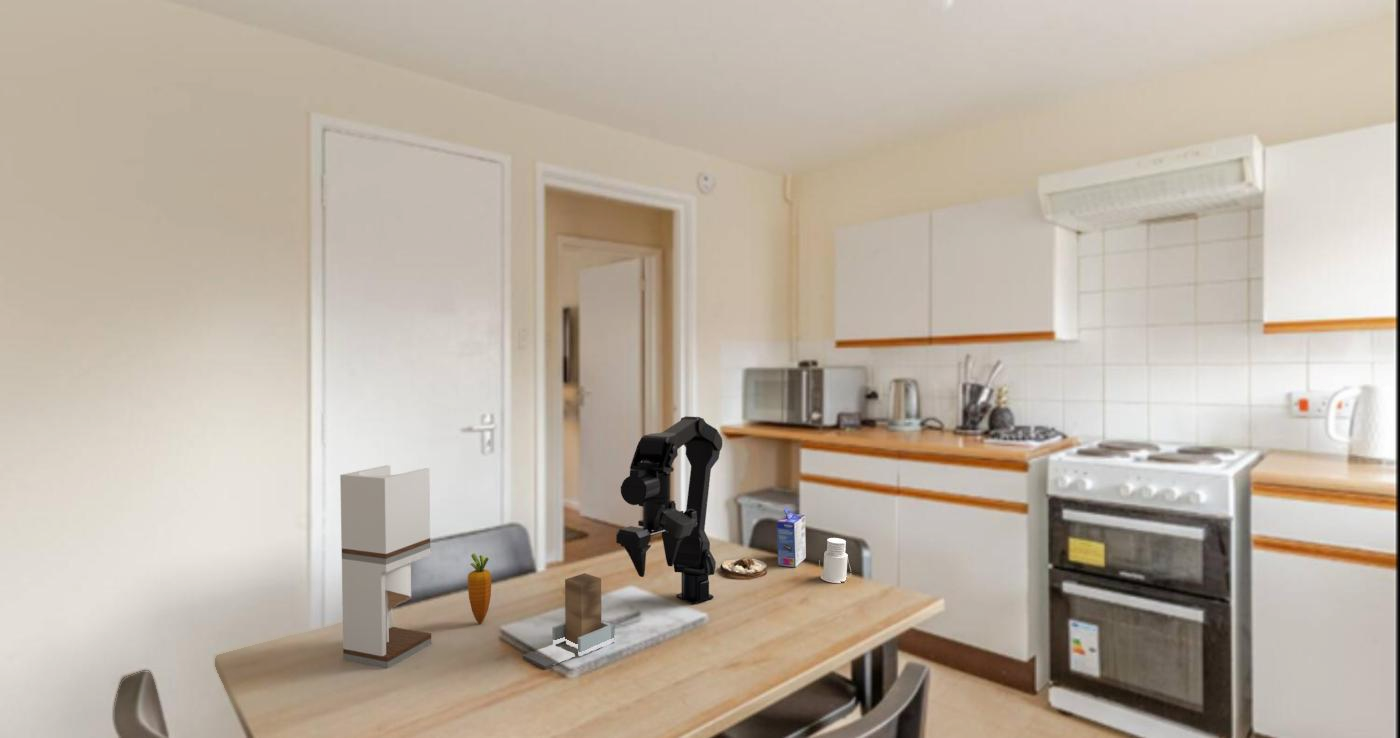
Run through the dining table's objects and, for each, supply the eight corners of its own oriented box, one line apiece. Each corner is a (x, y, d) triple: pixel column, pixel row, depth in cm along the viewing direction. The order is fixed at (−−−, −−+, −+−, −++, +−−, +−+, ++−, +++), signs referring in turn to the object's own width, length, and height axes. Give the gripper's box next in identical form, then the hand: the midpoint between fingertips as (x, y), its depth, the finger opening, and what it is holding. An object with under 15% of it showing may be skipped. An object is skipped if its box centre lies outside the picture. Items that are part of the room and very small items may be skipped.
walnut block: (585, 636, 143) (584, 573, 143) (601, 643, 140) (601, 578, 139) (565, 644, 139) (565, 579, 139) (581, 651, 136) (581, 584, 136)
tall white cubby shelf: (387, 668, 129) (384, 478, 128) (343, 659, 133) (340, 474, 131) (431, 643, 140) (429, 468, 138) (389, 636, 143) (386, 465, 142)
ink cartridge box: (787, 555, 198) (787, 504, 198) (806, 558, 196) (806, 506, 196) (776, 565, 189) (776, 512, 189) (795, 568, 187) (796, 514, 187)
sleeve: (586, 631, 146) (586, 614, 145) (614, 642, 140) (614, 625, 140) (520, 657, 133) (520, 638, 133) (548, 670, 128) (548, 651, 128)
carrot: (496, 623, 150) (496, 553, 149) (475, 630, 146) (474, 558, 146) (484, 617, 153) (483, 549, 153) (463, 623, 149) (462, 554, 149)
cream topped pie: (714, 564, 192) (714, 549, 192) (769, 564, 192) (769, 549, 191) (715, 582, 177) (715, 566, 177) (774, 583, 177) (775, 566, 177)
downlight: (818, 582, 176) (820, 542, 175) (818, 573, 182) (820, 535, 182) (851, 585, 174) (853, 545, 174) (849, 576, 181) (852, 538, 181)
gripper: (657, 508, 133) (656, 590, 134) (714, 494, 148) (713, 567, 149) (614, 501, 140) (614, 579, 140) (673, 488, 155) (672, 558, 155)
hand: (656, 571), depth 146 cm, fingers open, 9 cm apart
